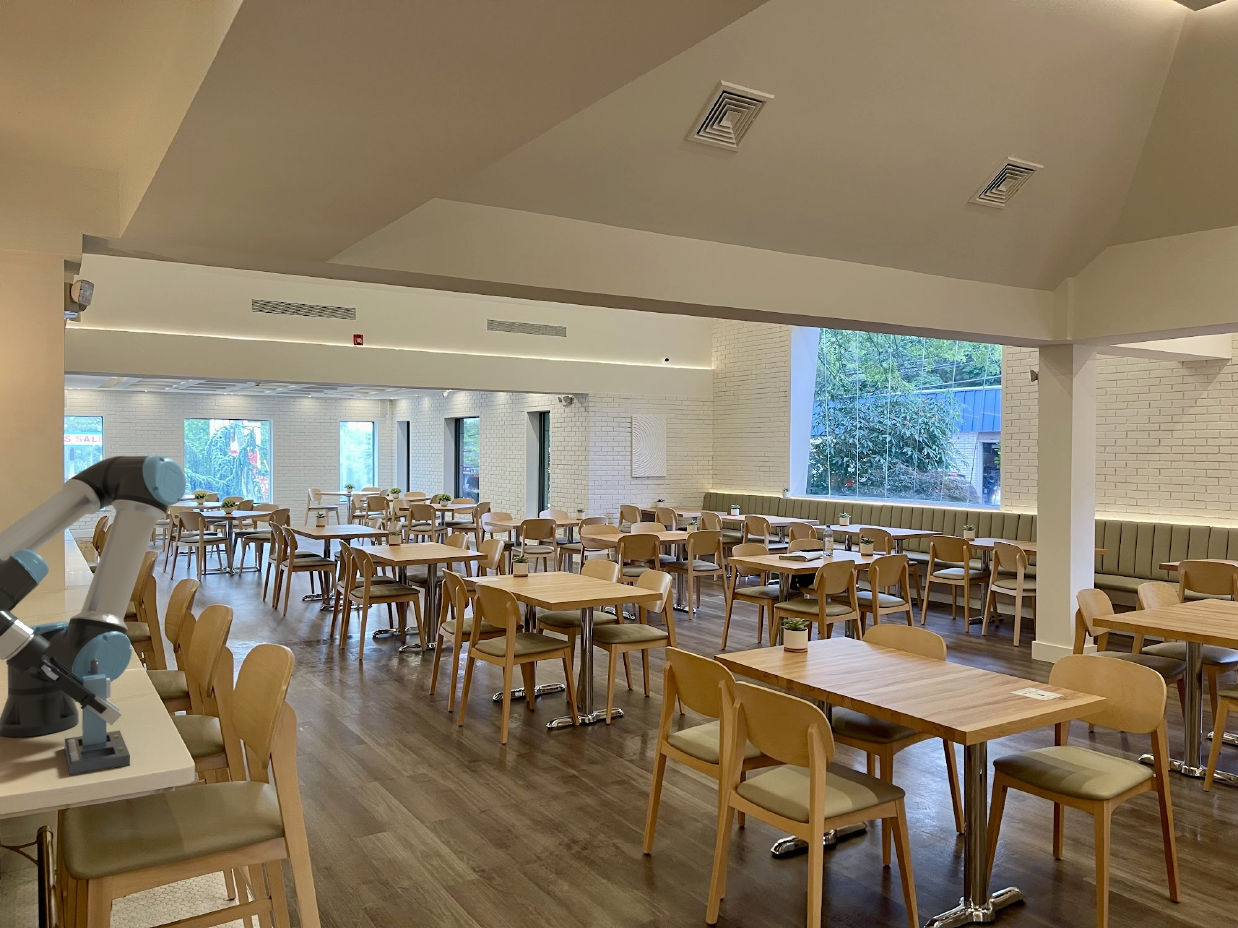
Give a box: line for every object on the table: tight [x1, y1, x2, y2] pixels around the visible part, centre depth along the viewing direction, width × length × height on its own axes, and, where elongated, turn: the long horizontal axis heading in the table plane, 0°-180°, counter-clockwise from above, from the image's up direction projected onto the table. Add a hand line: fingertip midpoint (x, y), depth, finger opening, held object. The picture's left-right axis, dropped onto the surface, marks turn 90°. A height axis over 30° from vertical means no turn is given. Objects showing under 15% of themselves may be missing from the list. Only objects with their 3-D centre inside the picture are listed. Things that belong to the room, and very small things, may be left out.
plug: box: [81, 659, 112, 746], centre depth 183 cm, size 4×5×19 cm
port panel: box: [64, 730, 131, 776], centre depth 179 cm, size 20×10×2 cm, turn 34°
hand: (115, 716), depth 185 cm, fingers closed on plug, 4 cm apart
